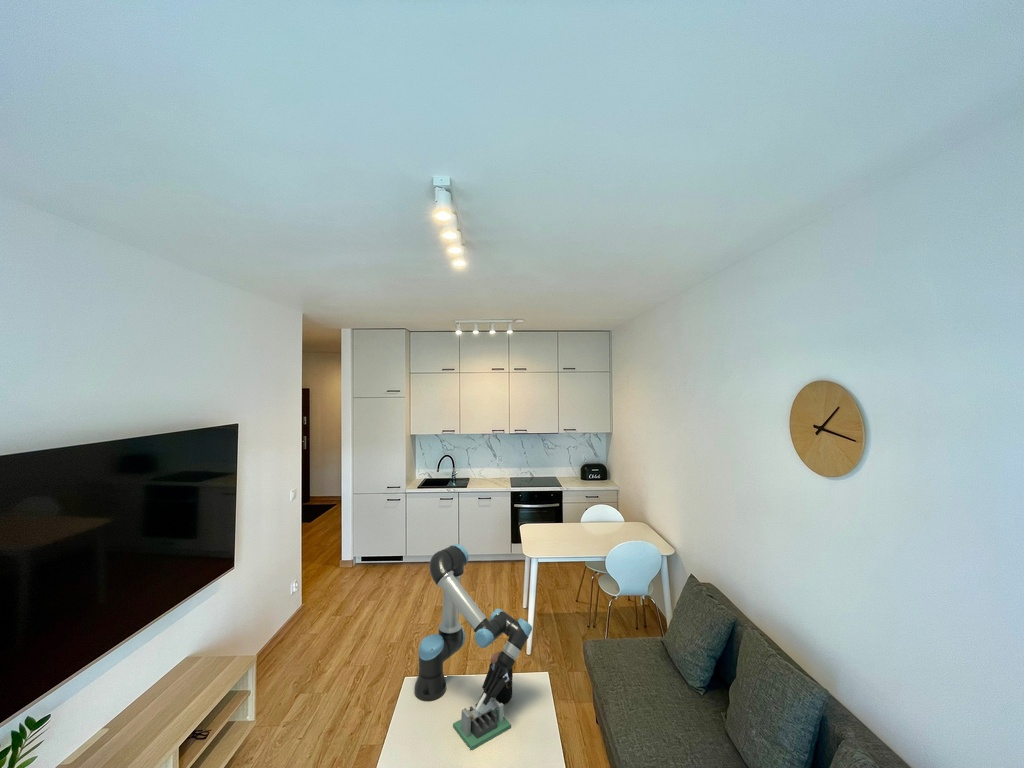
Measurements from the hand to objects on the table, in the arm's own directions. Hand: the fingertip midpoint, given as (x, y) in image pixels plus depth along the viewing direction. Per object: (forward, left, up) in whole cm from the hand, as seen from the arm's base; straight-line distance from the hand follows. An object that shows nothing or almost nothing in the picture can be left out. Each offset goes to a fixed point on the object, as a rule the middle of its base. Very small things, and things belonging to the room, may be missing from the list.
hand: (478, 710), depth 174 cm
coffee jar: (-11, +20, -9) cm, 24 cm away
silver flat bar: (-1, +4, -2) cm, 4 cm away
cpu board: (-1, +3, -9) cm, 9 cm away
